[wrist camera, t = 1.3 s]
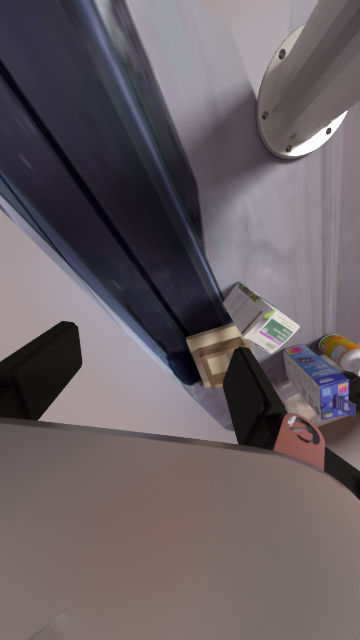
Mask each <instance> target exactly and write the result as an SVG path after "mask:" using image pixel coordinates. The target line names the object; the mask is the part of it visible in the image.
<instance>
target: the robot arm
mask: <svg viewBox="0 0 360 640" xmlns="http://www.w3.org/2000/svg"><path fill="white" fill-rule="evenodd" d="M359 101H360V0H319V1H318V3H317V5H316V7H315V8H314V10H313V12H312V14H311V15H310V17H309V19H308V21H307V23H305V24H303V25H302V26H300V27H299V28H297V29H296V30H294V31H293V32H292V33H291V34H290V35H289V36H288V37H287V38H286V39H285V40H284V42H283V43H282V44H281V46H280V47H279V48H278V50H277V51H276V53H275V55H274V56H273V58H272V60H271V62H270V64H269V66H268V68H267V70H266V72H265V74H264V77H263V80H262V83H261V86H260V89H259V95H258V100H257V113H256V115H257V126H258V130H259V134H260V136H261V139H262V141H263V143H264V144H265V146H266V147H267V149H268V150H269V151H270V152H272V153H273V154H274V155H276V156H278V157H280V158H284V159H297V158H300V157H303V156H306V155H308V154H309V153H311V152H313V151H314V150H316V149H317V148H319V147H320V146H321V145H322V144H324V143H325V142H326V141H327V140H328V139H329V138H330V137H331V136H332V134H333V133H334V132H335V131H336V130H337V128H338V127H339V125H340V124H341V122H342V120H343V119H344V117H345V115H346V113H347V111H348V110H349V109H350V108H351V107H352V106H354V105H355V104H356V103H357V102H359ZM263 118H264V119H263ZM286 150H287V152H286ZM81 366H82V355H81V347H80V339H79V331H78V326H76V325H75V323H73V322H67V321H61V322H60V323H58V324H57V325H55V326H54V327H52V328H51V329H49V330H48V331H46V332H45V333H43V334H42V335H40V336H39V337H37V338H36V339H34V340H32V341H31V342H29V343H28V344H26V345H25V346H23V347H22V348H20V349H19V350H17V351H16V352H14V353H13V354H11V355H10V356H8V357H7V358H5V359H4V360H2V361H1V362H0V640H360V471H359V470H357V469H356V468H355V467H353V466H352V465H350V464H349V463H348V462H346V461H345V460H343V459H342V458H341V457H339V456H338V455H336V454H335V453H334V452H332V451H331V450H329V449H328V448H327V447H325V443H324V438H323V436H322V434H321V432H320V431H319V430H318V429H317V427H316V426H315V425H314V424H313V423H311V422H310V421H309V420H307V419H306V418H304V417H302V416H301V415H298V414H295V413H287V411H286V409H285V406H284V404H283V403H282V401H281V399H280V398H279V396H278V394H277V393H276V391H275V390H274V388H273V386H272V385H271V383H270V381H269V380H268V378H267V376H266V375H265V373H264V371H263V370H262V368H261V367H260V365H259V363H258V362H257V360H256V358H255V357H254V355H253V353H252V352H251V350H250V349H249V348H247V347H240V346H239V347H238V348H235V349H234V352H233V355H232V358H231V360H230V363H229V366H228V369H227V371H226V374H225V377H224V380H223V389H224V393H225V397H226V400H227V404H228V408H229V411H230V415H231V419H232V423H233V426H234V430H235V434H236V437H237V441H238V444H239V445H238V444H230V443H224V442H216V441H208V440H200V439H192V438H183V437H175V436H167V435H159V434H150V433H141V432H132V431H123V430H115V429H107V428H98V427H90V426H80V425H70V424H62V423H53V422H44V421H38V419H40V417H41V416H42V415H43V413H44V412H45V411H46V410H47V409H48V407H49V406H50V405H51V403H52V402H53V401H54V400H55V399H56V398H57V396H58V395H59V394H60V393H61V391H62V390H63V389H64V388H65V386H66V385H67V384H68V383H69V382H70V380H71V379H72V378H73V377H74V375H75V374H76V373H77V372H78V370H79V369H80V368H81Z"/></svg>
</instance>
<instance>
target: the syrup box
mask: <svg viewBox="0 0 360 640" xmlns="http://www.w3.org/2000/svg"><path fill="white" fill-rule="evenodd" d="M223 305H224V307H225V309H226V310H227V312H228V314H229V315H230V317H231V318H232V320H233V322H234V323H235V325H236V327H237V328H238V330H239V332H240V333H241V335H242V337H243V338H245V339H247V340H248V341H250V342H251V343H253V344H254V345H256V346H257V347H259V348H261V349H263V350H264V351H266V352H268V353H270V354H272V353H273V352H274V351H276V350H277V349H278V348H279V347H281V346H282V345H283V344H284V343H285V342H286V341H287V340H288V339H289V338H290V337H291V336H292V335H293V334H294V333H295V332H296V331H297V330H298V329H299V327H300V326H299V325H298V324H296V323H295V322H293V321H292V320H291V319H289V318H288V317H287V316H286V315H284V314H283V313H282V312H281V311H279V310H278V309H277V308H276V307H274V306H273V305H272V304H271V303H269V302H268V301H266V300H265V299H264V298H262V297H261V296H259V295H258V294H257V293H255V292H254V291H252V290H251V289H250V288H248V287H247V286H245V285H243V284H242V283H240V282H238V283H237V285H236V286H235V287H234V288H233V290H232V291H231V292H230V294H229V295H228V297H227V298H226V299H225V301H224V302H223Z"/></svg>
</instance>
